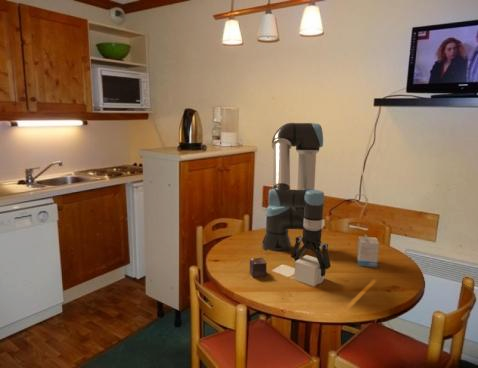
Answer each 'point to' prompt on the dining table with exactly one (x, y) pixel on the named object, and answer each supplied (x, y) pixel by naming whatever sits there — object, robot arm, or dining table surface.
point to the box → (257, 267)
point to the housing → (307, 270)
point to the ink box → (367, 251)
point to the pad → (284, 270)
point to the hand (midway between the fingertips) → (308, 278)
